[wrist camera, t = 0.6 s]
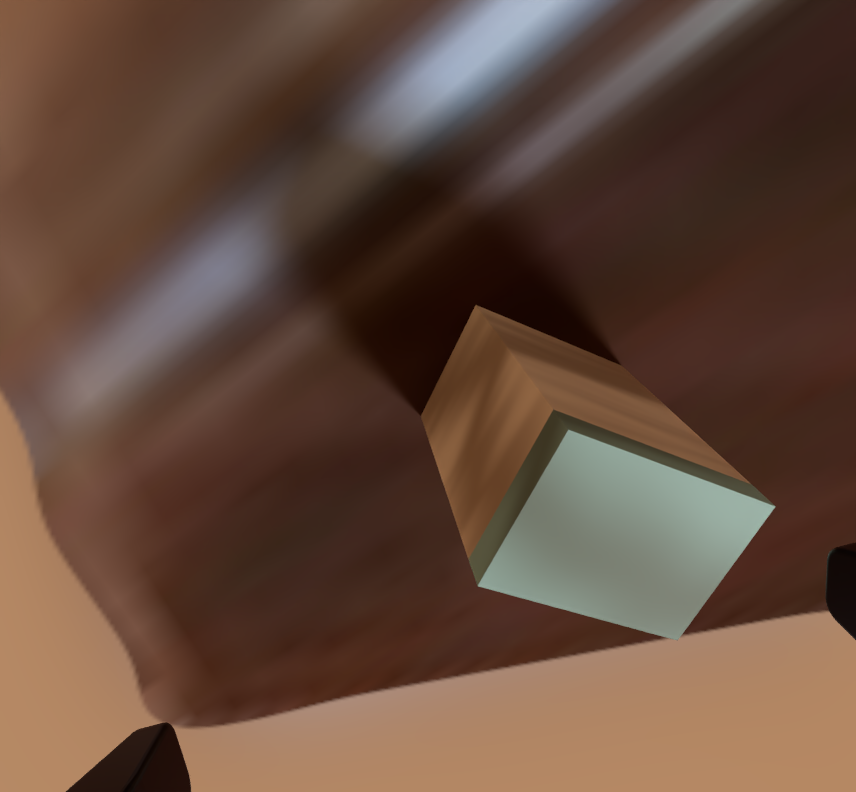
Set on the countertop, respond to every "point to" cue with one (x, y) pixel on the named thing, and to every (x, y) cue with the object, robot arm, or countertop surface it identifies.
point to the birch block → (582, 481)
